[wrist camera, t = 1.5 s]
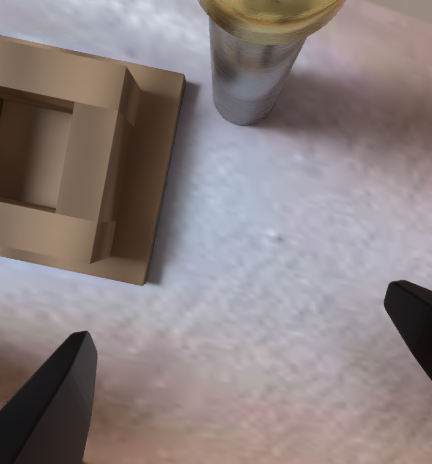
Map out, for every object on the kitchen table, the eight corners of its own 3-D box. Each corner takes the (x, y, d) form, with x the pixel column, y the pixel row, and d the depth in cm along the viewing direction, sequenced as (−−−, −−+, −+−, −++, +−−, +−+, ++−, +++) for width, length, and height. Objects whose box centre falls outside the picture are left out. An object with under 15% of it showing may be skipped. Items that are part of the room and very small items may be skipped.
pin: (292, 61, 19) (409, -183, 8) (274, 141, 20) (359, 31, 8) (213, 44, 19) (203, -228, 7) (196, 125, 20) (162, -11, 8)
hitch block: (185, 81, 20) (177, 47, 16) (146, 282, 20) (128, 299, 16) (-48, 31, 20) (-117, -15, 16) (-78, 235, 20) (-150, 240, 16)
